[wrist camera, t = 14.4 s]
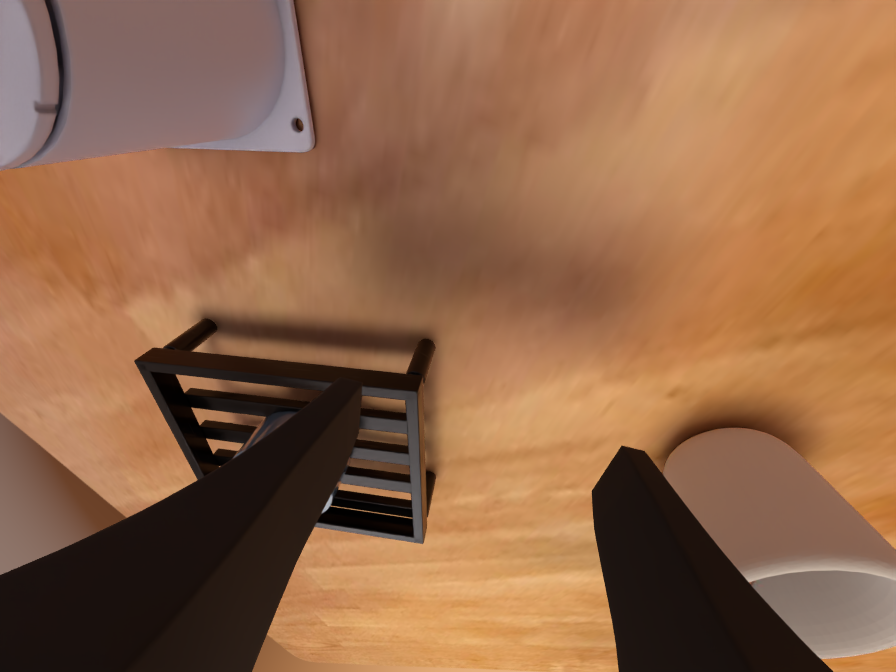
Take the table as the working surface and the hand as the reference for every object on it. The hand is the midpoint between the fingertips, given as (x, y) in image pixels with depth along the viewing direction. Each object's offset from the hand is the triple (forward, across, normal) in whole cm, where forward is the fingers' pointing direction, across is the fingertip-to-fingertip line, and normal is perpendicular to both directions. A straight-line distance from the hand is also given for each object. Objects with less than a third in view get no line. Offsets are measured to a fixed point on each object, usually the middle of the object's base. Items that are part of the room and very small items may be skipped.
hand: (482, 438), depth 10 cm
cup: (+10, -16, +7) cm, 20 cm away
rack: (+9, +8, +11) cm, 16 cm away
